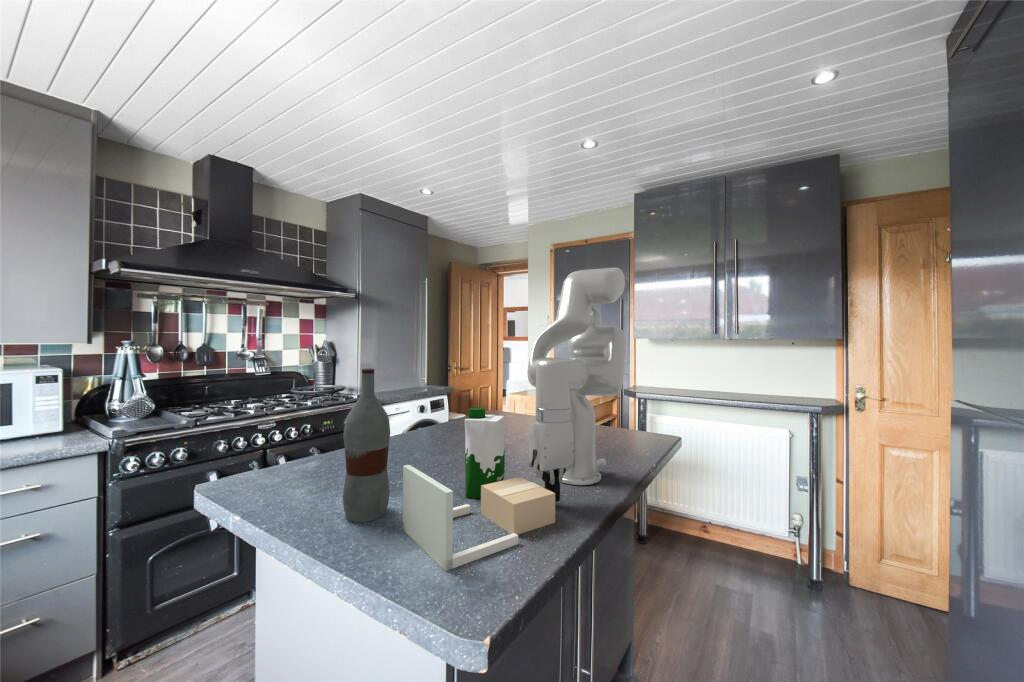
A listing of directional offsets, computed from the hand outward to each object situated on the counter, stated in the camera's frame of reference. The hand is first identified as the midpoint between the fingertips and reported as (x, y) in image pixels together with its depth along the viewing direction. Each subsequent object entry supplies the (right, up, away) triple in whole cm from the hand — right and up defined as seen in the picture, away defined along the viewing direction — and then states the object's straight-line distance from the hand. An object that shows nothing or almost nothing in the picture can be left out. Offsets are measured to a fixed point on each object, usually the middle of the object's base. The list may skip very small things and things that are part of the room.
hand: (552, 499), depth 86 cm
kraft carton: (-8, -2, -6) cm, 10 cm away
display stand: (-18, -1, -14) cm, 23 cm away
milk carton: (-15, -2, +7) cm, 17 cm away
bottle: (-39, -1, -4) cm, 39 cm away
